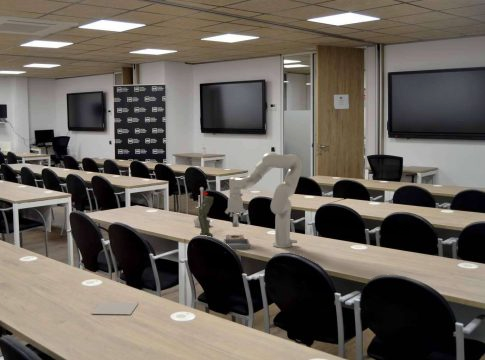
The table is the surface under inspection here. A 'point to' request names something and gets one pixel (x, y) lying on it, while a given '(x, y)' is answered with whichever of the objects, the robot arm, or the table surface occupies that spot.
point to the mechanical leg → (205, 215)
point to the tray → (238, 243)
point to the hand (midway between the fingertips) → (235, 222)
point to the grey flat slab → (114, 308)
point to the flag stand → (201, 204)
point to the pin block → (235, 237)
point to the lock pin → (235, 220)
